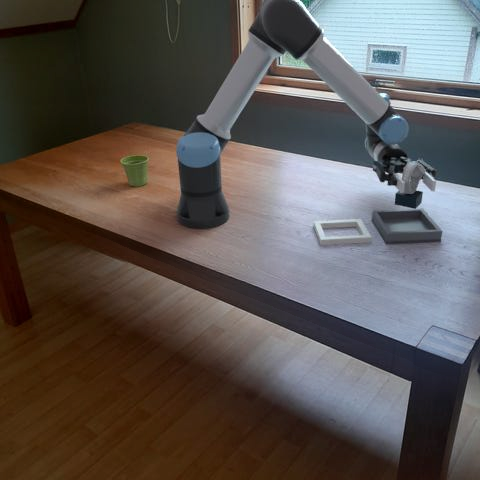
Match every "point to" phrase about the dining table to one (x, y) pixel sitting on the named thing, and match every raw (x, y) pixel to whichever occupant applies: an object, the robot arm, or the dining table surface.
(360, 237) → the white open frame
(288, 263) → the dining table surface
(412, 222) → the tray
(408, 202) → the watch
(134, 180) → the plant pot
